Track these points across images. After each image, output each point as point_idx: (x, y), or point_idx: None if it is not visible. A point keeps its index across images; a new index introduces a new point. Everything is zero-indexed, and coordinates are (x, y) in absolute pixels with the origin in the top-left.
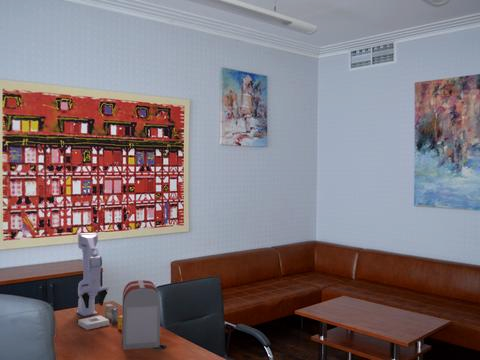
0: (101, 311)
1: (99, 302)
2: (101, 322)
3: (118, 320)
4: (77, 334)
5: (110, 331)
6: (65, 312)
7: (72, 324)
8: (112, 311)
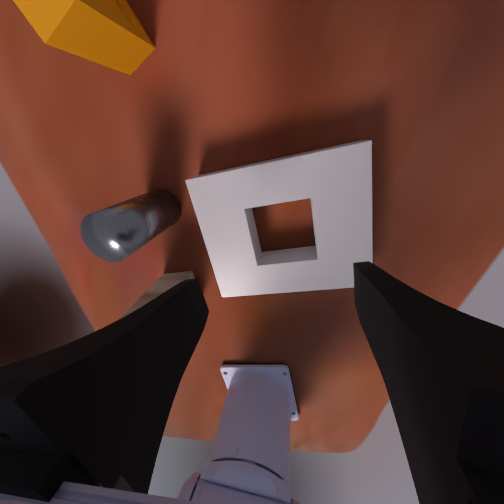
0: (200, 376)
1: (201, 330)
2: (245, 167)
3: (106, 14)
4: (481, 51)
5: (216, 4)
6: (339, 433)
7: None
8: (132, 222)
